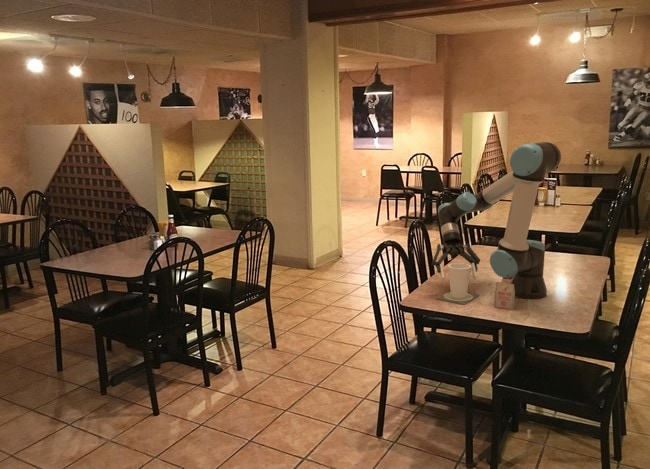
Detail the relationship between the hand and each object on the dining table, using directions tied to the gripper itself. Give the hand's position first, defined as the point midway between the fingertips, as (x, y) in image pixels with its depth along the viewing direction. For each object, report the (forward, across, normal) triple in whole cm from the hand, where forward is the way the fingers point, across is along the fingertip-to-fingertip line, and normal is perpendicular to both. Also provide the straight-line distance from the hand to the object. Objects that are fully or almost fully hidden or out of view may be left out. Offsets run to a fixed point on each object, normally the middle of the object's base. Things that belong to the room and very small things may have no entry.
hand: (458, 278), depth 236 cm
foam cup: (+5, 0, -6) cm, 8 cm away
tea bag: (+15, -15, +2) cm, 21 cm away
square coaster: (+5, 0, -7) cm, 9 cm away
